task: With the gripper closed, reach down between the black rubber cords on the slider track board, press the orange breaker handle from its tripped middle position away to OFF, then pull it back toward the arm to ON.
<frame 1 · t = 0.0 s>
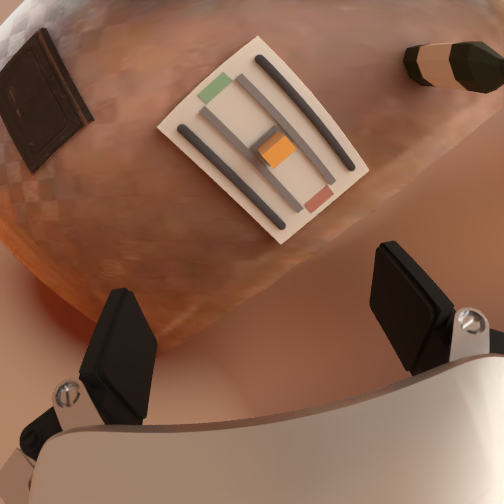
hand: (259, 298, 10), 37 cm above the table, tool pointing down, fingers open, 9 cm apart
hardcover book: (38, 99, 33), on the table
breaker handle: (275, 148, 37), point 6 cm above the table, slide at 0.0 cm
dressed cords: (272, 145, 40), point 3 cm above the table
wine bottle: (419, 65, 36), on the table
slider track board: (268, 141, 43), on the table
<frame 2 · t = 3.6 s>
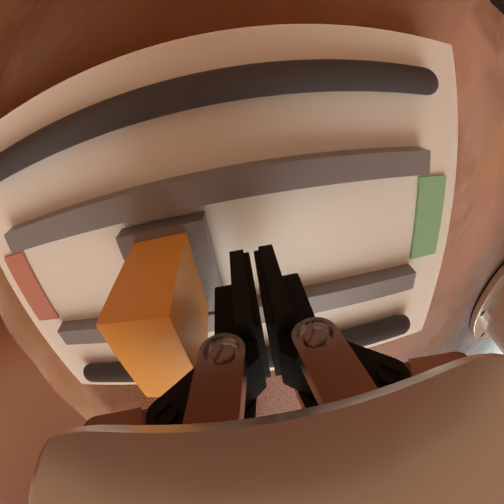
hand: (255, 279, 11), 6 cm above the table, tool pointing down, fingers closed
breaker handle: (166, 305, 11), point 6 cm above the table, slide at 1.8 cm, touching gripper
dressed cords: (211, 262, 13), point 3 cm above the table
slider track board: (213, 227, 16), on the table
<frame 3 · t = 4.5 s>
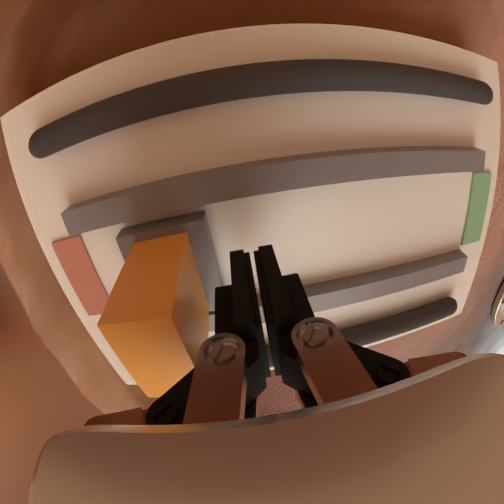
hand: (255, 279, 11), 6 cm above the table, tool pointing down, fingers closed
breaker handle: (167, 305, 11), point 6 cm above the table, slide at 6.5 cm, touching gripper
dressed cords: (311, 244, 13), point 3 cm above the table
slider track board: (293, 213, 16), on the table
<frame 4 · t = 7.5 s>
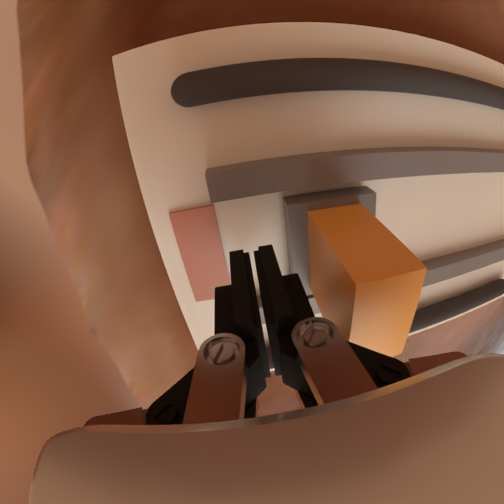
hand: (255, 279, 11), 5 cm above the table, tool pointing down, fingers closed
breaker handle: (351, 273, 11), point 6 cm above the table, slide at 6.0 cm, touching gripper
dressed cords: (430, 224, 13), point 3 cm above the table
slider track board: (397, 199, 16), on the table
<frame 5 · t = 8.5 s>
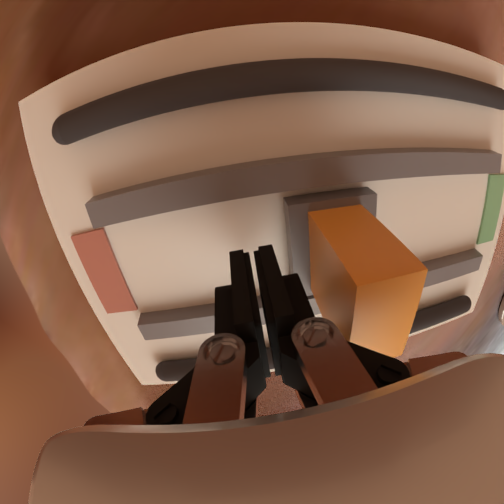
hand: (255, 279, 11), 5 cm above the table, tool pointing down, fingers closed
breaker handle: (352, 274, 11), point 6 cm above the table, slide at 0.6 cm, touching gripper
dressed cords: (343, 240, 13), point 3 cm above the table
slider track board: (320, 210, 16), on the table
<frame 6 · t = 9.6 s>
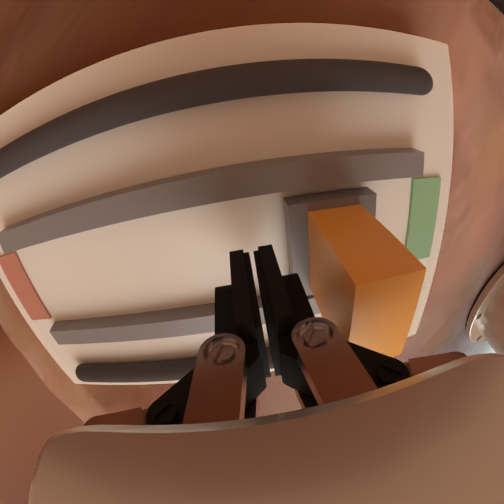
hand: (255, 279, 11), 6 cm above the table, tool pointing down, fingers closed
breaker handle: (351, 274, 11), point 6 cm above the table, slide at -6.1 cm, touching gripper
dressed cords: (199, 264, 13), point 3 cm above the table
slider track board: (203, 229, 16), on the table
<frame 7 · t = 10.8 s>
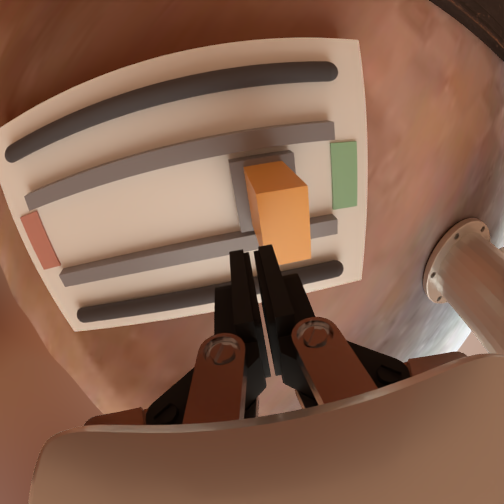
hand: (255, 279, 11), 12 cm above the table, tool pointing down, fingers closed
breaker handle: (273, 205, 16), point 6 cm above the table, slide at -6.1 cm
dressed cords: (173, 208, 18), point 3 cm above the table
slider track board: (179, 190, 21), on the table
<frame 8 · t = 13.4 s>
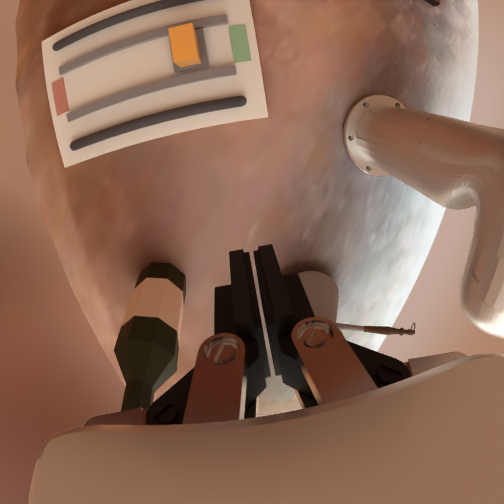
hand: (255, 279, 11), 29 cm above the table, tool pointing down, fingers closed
coffee pot: (328, 285, 50), on the table
breaker handle: (186, 47, 24), point 6 cm above the table, slide at -6.1 cm
dressed cords: (139, 64, 26), point 3 cm above the table
wine bottle: (163, 281, 46), on the table
slider track board: (147, 67, 29), on the table
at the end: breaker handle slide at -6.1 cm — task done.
